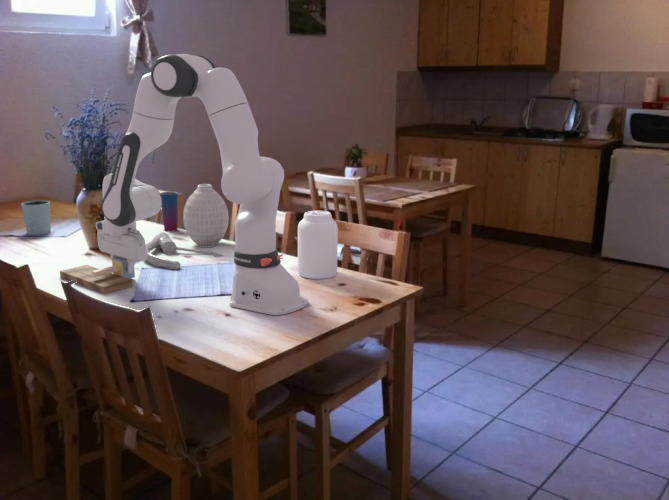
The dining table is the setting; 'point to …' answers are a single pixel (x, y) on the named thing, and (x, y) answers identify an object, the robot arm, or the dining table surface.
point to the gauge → (115, 269)
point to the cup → (169, 210)
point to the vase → (205, 216)
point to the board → (96, 279)
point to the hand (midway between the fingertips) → (123, 270)
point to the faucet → (168, 251)
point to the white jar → (317, 245)
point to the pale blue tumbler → (37, 217)
